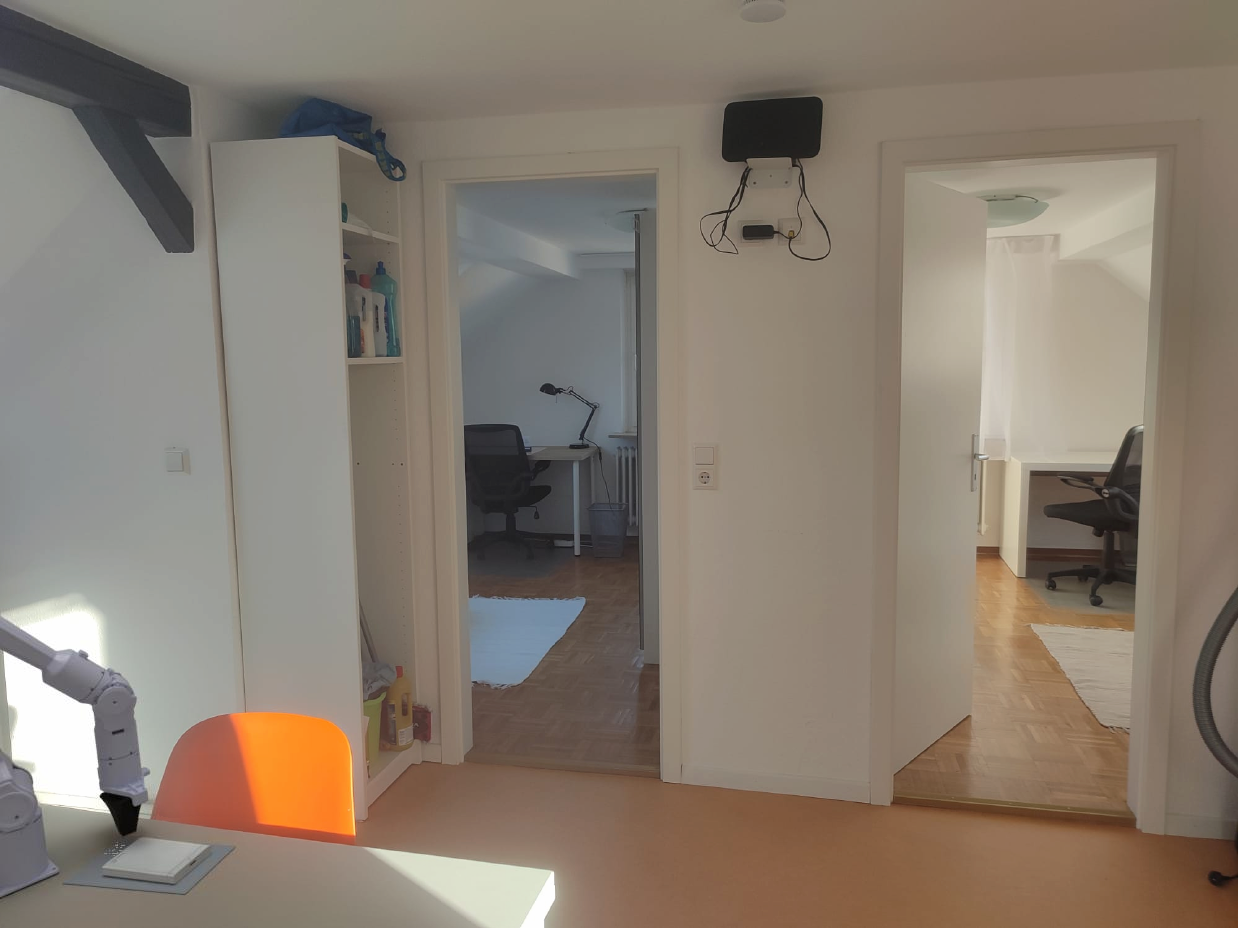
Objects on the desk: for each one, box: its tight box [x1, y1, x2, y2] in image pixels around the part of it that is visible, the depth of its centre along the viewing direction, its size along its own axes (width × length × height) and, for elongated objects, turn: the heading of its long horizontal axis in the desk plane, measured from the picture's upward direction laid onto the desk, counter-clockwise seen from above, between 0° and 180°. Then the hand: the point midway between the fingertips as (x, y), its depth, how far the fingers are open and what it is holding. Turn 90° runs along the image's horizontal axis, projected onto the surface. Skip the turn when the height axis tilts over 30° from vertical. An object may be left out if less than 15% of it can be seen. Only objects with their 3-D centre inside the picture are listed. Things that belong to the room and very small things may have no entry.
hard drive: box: [102, 836, 212, 884], centre depth 133 cm, size 2×8×12 cm
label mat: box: [62, 837, 237, 895], centre depth 133 cm, size 20×12×1 cm, turn 80°
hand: (128, 832), depth 139 cm, fingers closed
